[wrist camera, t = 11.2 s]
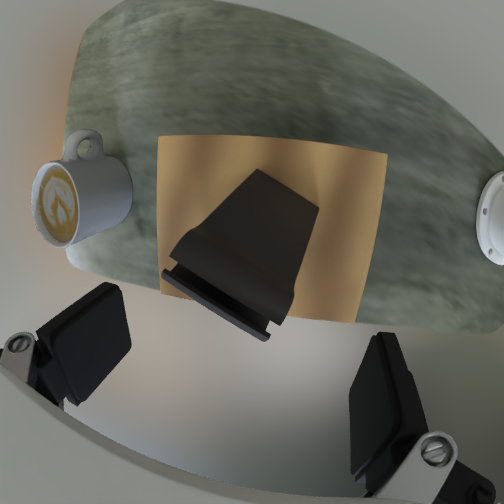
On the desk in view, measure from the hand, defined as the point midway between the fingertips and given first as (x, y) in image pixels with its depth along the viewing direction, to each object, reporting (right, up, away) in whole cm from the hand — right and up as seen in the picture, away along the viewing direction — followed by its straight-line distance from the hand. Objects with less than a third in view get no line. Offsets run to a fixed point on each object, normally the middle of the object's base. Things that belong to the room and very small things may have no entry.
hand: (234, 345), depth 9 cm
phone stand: (+1, +5, +14) cm, 15 cm away
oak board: (+2, +5, +15) cm, 16 cm away
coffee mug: (-19, +13, +23) cm, 32 cm away
